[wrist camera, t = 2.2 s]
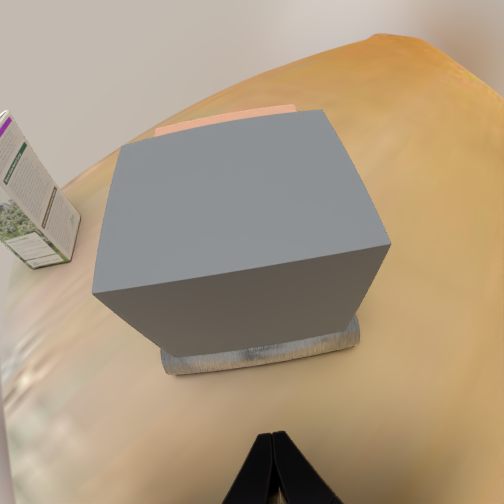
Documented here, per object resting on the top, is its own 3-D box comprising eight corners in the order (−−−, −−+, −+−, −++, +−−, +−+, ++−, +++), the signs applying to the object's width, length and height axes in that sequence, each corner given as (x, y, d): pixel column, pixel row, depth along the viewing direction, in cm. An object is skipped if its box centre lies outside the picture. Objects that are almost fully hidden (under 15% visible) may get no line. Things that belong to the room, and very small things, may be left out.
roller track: (354, 349, 19) (362, 339, 17) (174, 378, 19) (161, 371, 17) (310, 200, 26) (311, 180, 24) (171, 224, 26) (162, 206, 24)
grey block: (345, 330, 17) (391, 243, 9) (174, 357, 17) (91, 293, 9) (313, 221, 21) (321, 109, 13) (172, 245, 21) (121, 146, 14)
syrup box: (82, 215, 28) (9, 104, 16) (71, 264, 25) (-26, 150, 12) (43, 226, 28) (-30, 130, 16) (31, 272, 25) (-62, 177, 12)
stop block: (301, 176, 27) (302, 122, 22) (172, 198, 27) (151, 148, 22) (294, 155, 29) (293, 104, 24) (173, 176, 29) (155, 128, 24)
